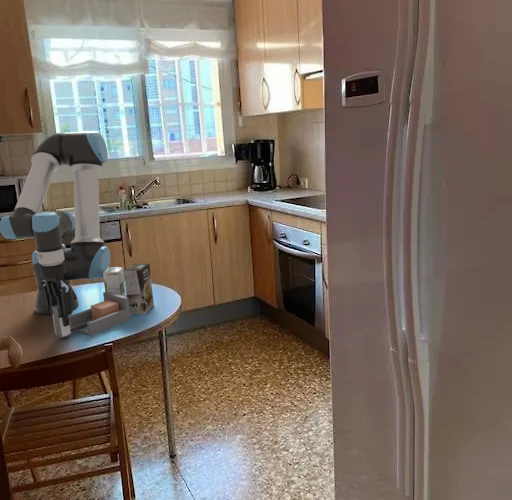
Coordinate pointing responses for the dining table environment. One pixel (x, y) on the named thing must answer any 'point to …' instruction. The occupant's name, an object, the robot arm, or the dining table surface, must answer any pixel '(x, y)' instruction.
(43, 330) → the dining table surface
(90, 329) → the tray
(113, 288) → the syrup box
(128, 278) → the coffee box
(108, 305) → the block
